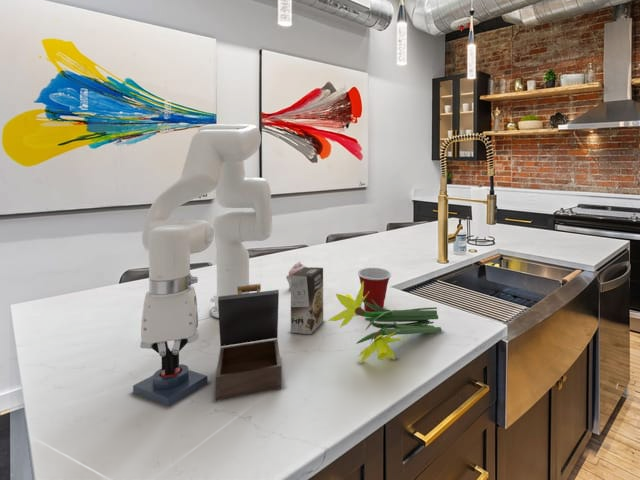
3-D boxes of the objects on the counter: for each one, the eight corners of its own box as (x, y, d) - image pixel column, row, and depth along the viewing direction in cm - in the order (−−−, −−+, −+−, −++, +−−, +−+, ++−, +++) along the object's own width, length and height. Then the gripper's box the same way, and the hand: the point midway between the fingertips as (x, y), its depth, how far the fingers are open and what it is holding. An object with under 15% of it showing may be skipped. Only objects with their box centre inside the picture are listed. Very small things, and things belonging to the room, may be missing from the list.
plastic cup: (378, 318, 122) (378, 278, 122) (350, 311, 128) (350, 273, 128) (398, 307, 131) (397, 270, 131) (371, 300, 137) (370, 265, 137)
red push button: (157, 381, 85) (157, 373, 85) (173, 373, 88) (173, 365, 88) (168, 385, 83) (168, 377, 83) (184, 377, 86) (184, 369, 86)
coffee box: (311, 334, 111) (311, 276, 111) (289, 332, 112) (289, 274, 112) (324, 321, 120) (324, 267, 120) (304, 319, 121) (303, 266, 121)
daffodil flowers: (464, 344, 107) (370, 355, 82) (423, 360, 114) (324, 374, 89) (445, 282, 116) (355, 275, 91) (408, 300, 123) (314, 297, 98)
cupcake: (308, 293, 145) (308, 265, 145) (282, 293, 145) (282, 265, 145) (314, 284, 154) (314, 258, 154) (290, 284, 155) (290, 258, 154)
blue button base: (132, 393, 84) (132, 376, 84) (173, 372, 92) (173, 357, 92) (168, 407, 79) (168, 389, 79) (207, 383, 87) (207, 367, 87)
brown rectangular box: (281, 388, 85) (281, 365, 85) (215, 401, 81) (215, 377, 81) (277, 358, 98) (277, 338, 98) (220, 368, 94) (220, 347, 94)
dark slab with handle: (278, 293, 92) (277, 276, 96) (217, 300, 87) (219, 282, 92) (277, 338, 98) (276, 320, 102) (220, 346, 93) (221, 327, 98)
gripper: (210, 276, 91) (211, 357, 91) (133, 283, 86) (134, 369, 86) (207, 286, 84) (207, 374, 84) (123, 294, 79) (123, 388, 79)
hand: (170, 371), depth 85 cm, fingers closed
